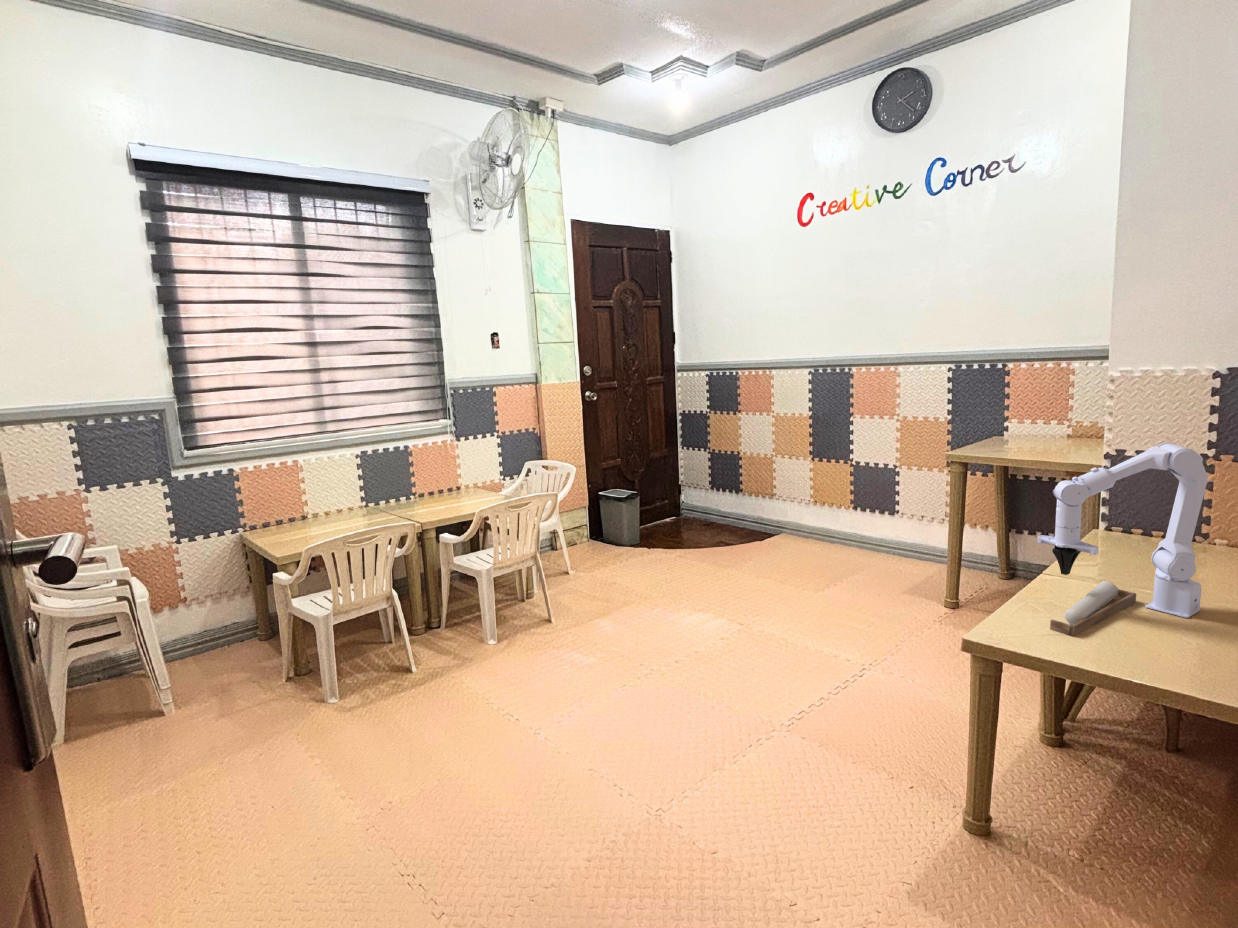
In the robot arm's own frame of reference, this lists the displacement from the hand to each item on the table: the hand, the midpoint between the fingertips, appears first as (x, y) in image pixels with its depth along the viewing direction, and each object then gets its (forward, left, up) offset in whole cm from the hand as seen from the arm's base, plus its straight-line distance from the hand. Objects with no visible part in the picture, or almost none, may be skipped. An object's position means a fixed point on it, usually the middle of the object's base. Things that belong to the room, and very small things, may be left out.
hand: (1065, 573), depth 191 cm
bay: (-8, 0, -9) cm, 12 cm away
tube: (-6, -1, -10) cm, 12 cm away
